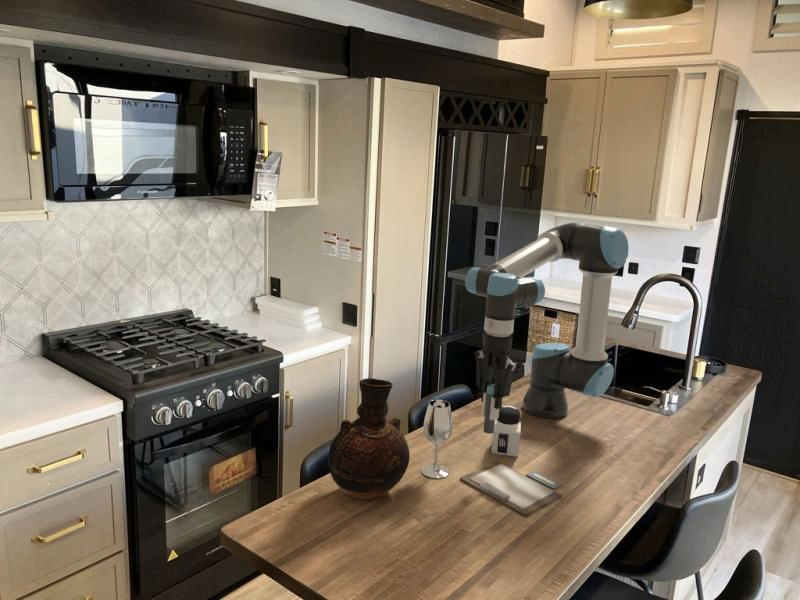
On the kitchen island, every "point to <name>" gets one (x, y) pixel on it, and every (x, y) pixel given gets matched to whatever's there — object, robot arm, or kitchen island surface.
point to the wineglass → (437, 434)
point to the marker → (487, 422)
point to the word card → (544, 480)
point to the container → (507, 432)
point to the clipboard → (511, 488)
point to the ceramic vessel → (369, 446)
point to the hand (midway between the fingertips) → (489, 416)
